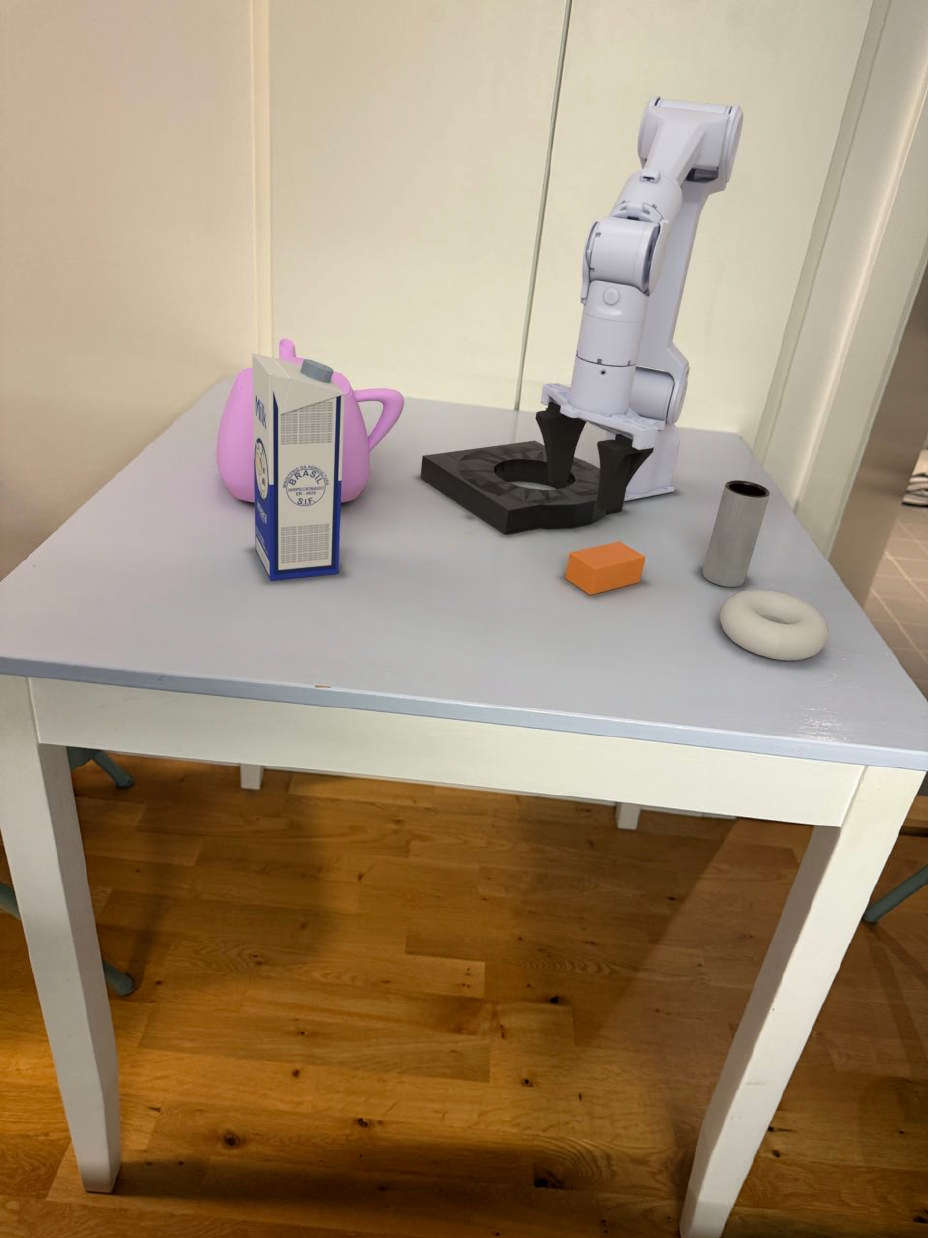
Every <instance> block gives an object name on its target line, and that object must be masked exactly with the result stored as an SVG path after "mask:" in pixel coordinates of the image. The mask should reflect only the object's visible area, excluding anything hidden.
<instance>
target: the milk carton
mask: <svg viewBox="0 0 928 1238" xmlns="http://www.w3.org/2000/svg"><path fill="white" fill-rule="evenodd" d="M251 360H252V368H253V427H254V488H255V503H254V541H255V542H254V543H255V544H254V545H255V547H254V549H255V552H256V554H257V556H258V558H259V560H260V562H261V564H262V566H263V569H264V570H265V572H266V574H267V576H268V578H269V580H270V582H271V581H281V580H290V579H291V580H292V579H300V578H301V579H302V578H311V577H320V576H330V575H331V576H332V575H339V568H340V567H339V565H340V537H341V536H340V535H341V513H342V512H341V509H342V508H341V507H342V503H341V484H342V456H343V428H344V399H345V393H344V392H343V391H342V390H341V389H340V388H339V387H338V386H337V385H336V384H335V383H334V382H333V381H332V380H331V378H332V374H333V371H334V372H335V370H334V369H333V368H332V367H330V366H329V365H326V364H323V363H322V362H318V361H315V360H312V359H309V358H304V361H303V364H302V365H299V364H295V363H292V362H289V361H285V360H282V359H279V357H275V356H268V355H262V354H258V353H252V355H251Z"/></svg>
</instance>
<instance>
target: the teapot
mask: <svg viewBox="0 0 928 1238" xmlns="http://www.w3.org/2000/svg"><path fill="white" fill-rule="evenodd" d="M278 349H279V350H278V351H279V352H278V353H279V354H278V358H279V359H282V360H285V361H289V362H292V363H295V364H299V365H302V364H303V361H304V359H305V358H303V357H297V351H296V346H295V343H294V342H293V340H291V339H289V338H281V339H280V340H279V342H278ZM331 380H332V381H333V382H334V383H335V384H336V385H337V386H338V387H339V388H340V389H341V390H342V391H343V392H344V393H345V399H344V428H343V456H342V484H341V504H342V503H346V502H351V501H353V500H355V499H357V498H358V497H359V495H360V494H361V493H362V491H363V490H364V488H365V487H366V486H367V483H368V482H369V478H370V474H371V454H370V453H372V451H373V450H374V449H375V448H376V447H377V445H379V444H380V443H381V441H382V440H383V439H384V438H385V437H386V436H387V435H388V434H389V432H390V431H391V430H392V428H394V426H395V425H396V424H397V422H398V421H399V419H400V417H401V415H402V412H403V410H404V404H405V398H404V396H403V394H402V393H401V392H400V391H399V390H397V389H393V388H386V387H378V388H375V387H374V388H365V389H364V388H363V389H356V390H353V387H352V384H351V383H350V380H349V379H348V378H347V377H346V376H345V375H344V374H343V373H341V372H338V371H335V370H334V371H333V374H332V378H331ZM363 402H378V403H381V404H382V411H381V414H380V416H379V418H378V421H377V423H376V424H375V426H374V428H373V429H372V431H371V432H370V434H369V435H368V431H367V427H366V423H365V420H364V417H363V413H362V411H361V410H362V409H361V407H360V404H359V403H363ZM215 454H216V466H217V470H218V473H219V476H220V478H221V480H222V482H223V483H224V486H225V487H226V489H227V490H228V491H229V493H230V494H231V496H233V497H234V498H236V499H238V500H241V501H245V502H249V503H254V504H255V488H254V427H253V367H247V368H243V369H241V370H240V371H239V372H238V373H237V375H236V378H235V380H234V382H233V385H232V387H231V390H230V392H229V395H228V398H227V400H226V402H225V405H224V407H223V411H222V414H221V418H220V423H219V428H218V434H217V439H216V453H215Z"/></svg>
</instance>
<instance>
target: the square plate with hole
mask: <svg viewBox="0 0 928 1238" xmlns="http://www.w3.org/2000/svg"><path fill="white" fill-rule="evenodd" d="M420 479H421V480H423V481H424V482H426V483H427V484H429V485H430V486H432V487H433V488H435V489H436V490H437V491H439V492H441V493H442V494H444V495H445V496H447V497H448V498H449V499H451V500H452V501H454V502H456V504H459V505H460V506H461V507H463V508H464V509H466V510H467V511H469V512H471V514H473V515H475V516H477V517H478V518H479V519H481V520H482V521H483V522H485V523H487V524H488V525H490V526H491V527H492V528H494V529H496V530H497V531H499V532H500V533H502V534H503V535H506V536H507V535H512V534H517V533H522V532H527V531H531V530H536V529H543V530H557V529H574V528H580V527H583V526H588V525H593V524H594V523H596V522H598V521H600V520H602V519H603V518H604V517H605V515H610V514H615V513H620V512H622V511H623V509H624V508H623V507H624V503H625V501H624V498H625V493H626V490H625V492H624V494H623V496H622V498H621V500H620V502H619V504H618V506H617V508H616V509H612V510H607V511H600V510H599V509H597V496H598V488H599V482H600V467H598V466H596V465H594V464H592V463H590V462H588V461H586V460H584V459H581V458H578V457H575V456H574V459H573V464H572V468H571V472H570V475H569V477H568V480H567V481H562V482H555V483H552V482H550V481H549V478H548V469H547V459H546V451H545V446H544V444H542V443H541V442H538V441H537V440H528V441H521V442H514V443H513V442H512V443H507V444H505V443H504V444H499V445H491V446H484V447H475V448H469V449H468V448H467V449H462V450H453V451H446V452H440V453H432V454H424V455H422V456H421V468H420ZM511 482H529V483H530V482H532V483H537V484H542V485H547V486H549V487H552V488H555V489H538V488H530V487H526V486H520V485H517V484H514V483H511Z"/></svg>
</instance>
